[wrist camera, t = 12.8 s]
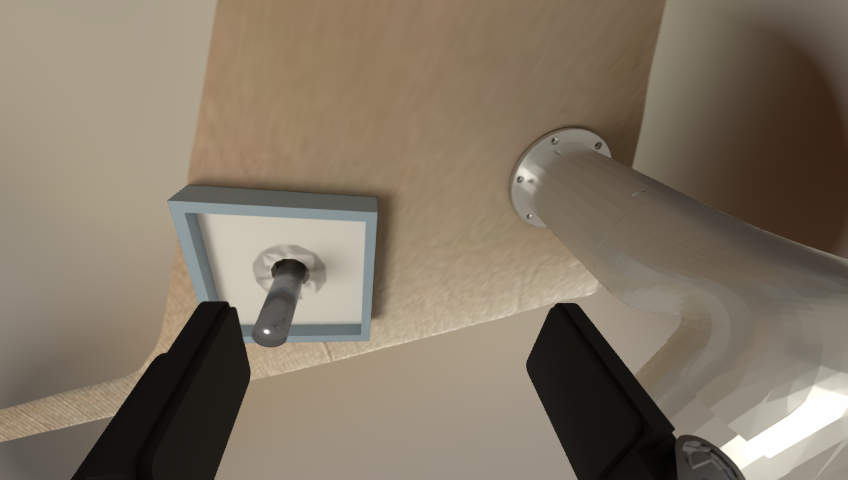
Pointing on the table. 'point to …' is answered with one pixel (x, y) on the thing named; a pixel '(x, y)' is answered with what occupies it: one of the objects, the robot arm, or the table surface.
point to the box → (282, 255)
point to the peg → (280, 304)
